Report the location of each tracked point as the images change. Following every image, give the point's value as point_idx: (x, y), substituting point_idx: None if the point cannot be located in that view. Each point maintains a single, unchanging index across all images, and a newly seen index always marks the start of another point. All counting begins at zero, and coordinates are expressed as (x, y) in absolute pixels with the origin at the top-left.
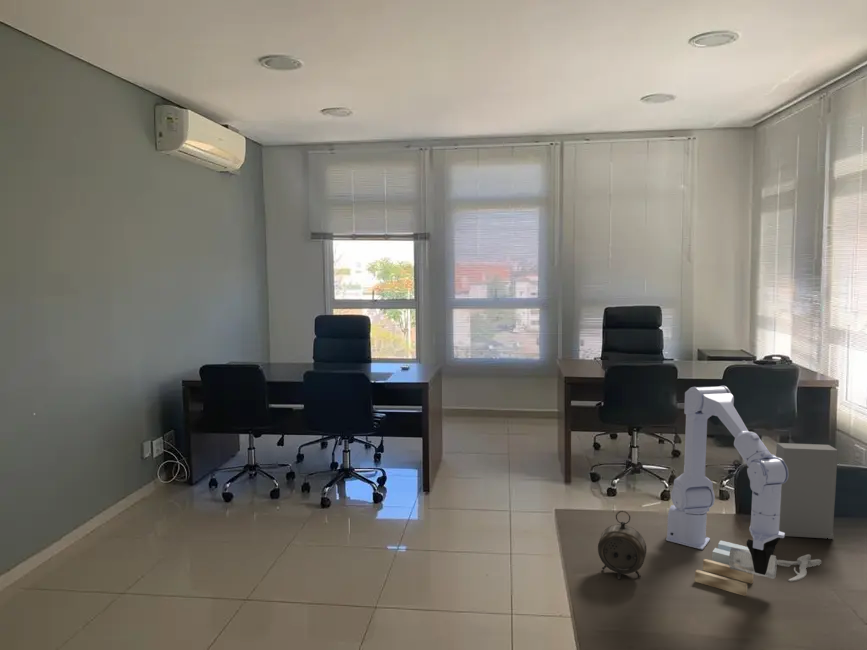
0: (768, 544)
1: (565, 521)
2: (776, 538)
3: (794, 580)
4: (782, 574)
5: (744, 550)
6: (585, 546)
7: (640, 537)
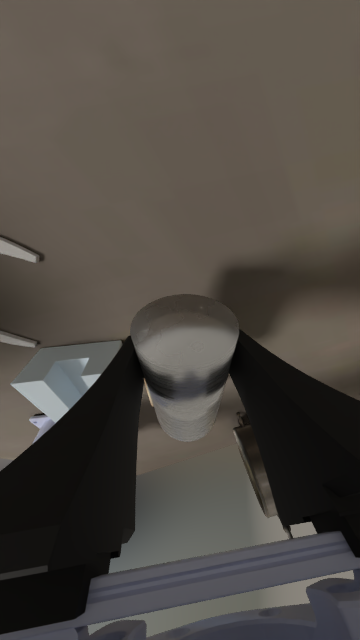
0: (121, 438)
1: (153, 469)
2: (78, 526)
3: (16, 245)
4: (15, 286)
5: (192, 426)
6: (195, 449)
7: (269, 490)
